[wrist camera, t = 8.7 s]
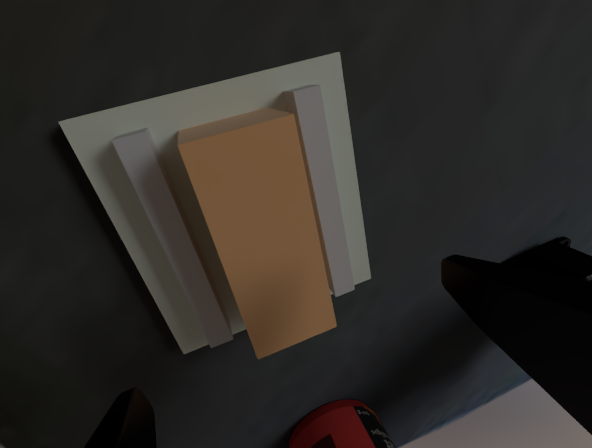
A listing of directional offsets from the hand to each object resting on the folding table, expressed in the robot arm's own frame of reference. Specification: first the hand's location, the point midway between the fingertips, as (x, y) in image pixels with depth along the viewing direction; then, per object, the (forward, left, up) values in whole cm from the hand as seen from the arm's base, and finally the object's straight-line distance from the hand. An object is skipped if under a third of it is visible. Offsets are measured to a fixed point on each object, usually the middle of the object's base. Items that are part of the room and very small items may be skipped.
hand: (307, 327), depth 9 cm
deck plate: (0, 0, -9) cm, 9 cm away
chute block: (0, 0, -8) cm, 8 cm away
